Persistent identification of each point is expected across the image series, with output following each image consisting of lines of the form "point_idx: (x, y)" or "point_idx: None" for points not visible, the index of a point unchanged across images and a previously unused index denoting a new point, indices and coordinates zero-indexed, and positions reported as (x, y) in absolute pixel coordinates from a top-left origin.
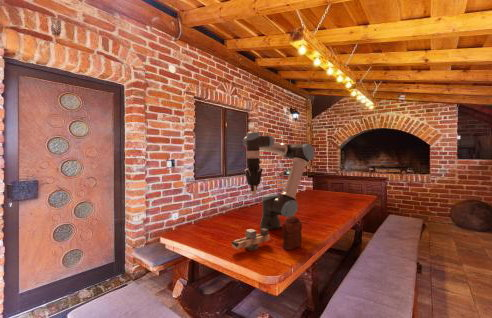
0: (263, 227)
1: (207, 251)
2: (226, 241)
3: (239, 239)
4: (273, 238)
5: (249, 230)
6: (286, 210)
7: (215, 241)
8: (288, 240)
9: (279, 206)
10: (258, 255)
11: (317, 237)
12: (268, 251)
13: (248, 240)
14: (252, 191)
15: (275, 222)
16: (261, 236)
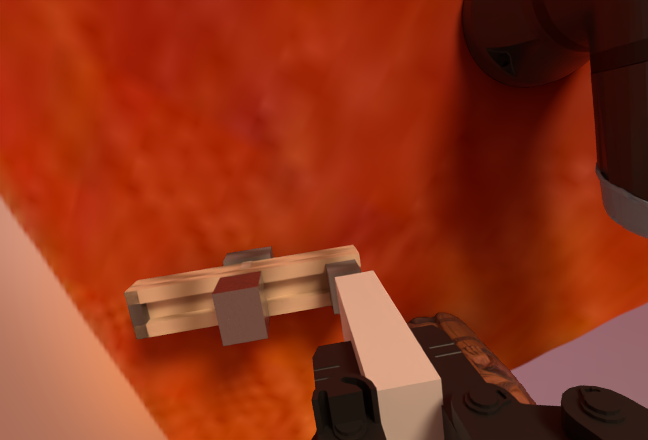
0: (467, 32)
1: (22, 212)
2: (161, 127)
3: (173, 291)
4: (420, 210)
5: (232, 313)
6: (634, 233)
7: (96, 94)
8: None
9: (646, 163)
10: (249, 352)
11: (606, 294)
12: (310, 335)
13: (216, 325)
14: (348, 336)
15: (551, 72)
16: (310, 302)
